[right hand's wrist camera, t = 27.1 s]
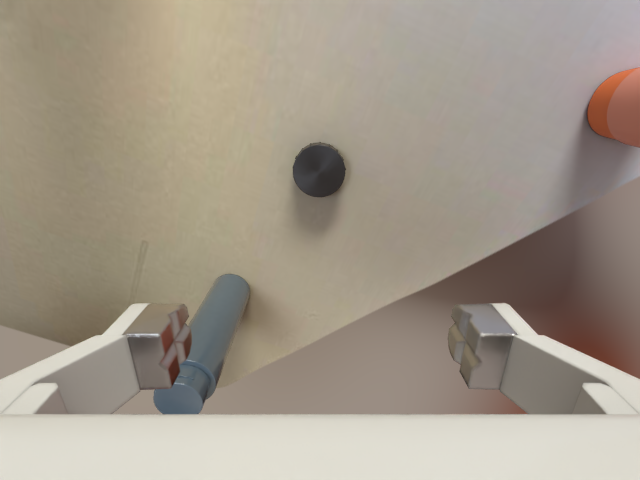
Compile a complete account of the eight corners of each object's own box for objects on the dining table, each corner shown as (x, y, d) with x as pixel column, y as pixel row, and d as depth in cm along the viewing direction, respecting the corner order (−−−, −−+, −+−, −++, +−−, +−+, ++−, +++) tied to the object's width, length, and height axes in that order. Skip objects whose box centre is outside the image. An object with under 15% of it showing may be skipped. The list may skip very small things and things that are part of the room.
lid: (313, 202, 38) (312, 207, 36) (283, 161, 36) (281, 165, 34) (353, 174, 37) (355, 178, 34) (325, 131, 35) (325, 133, 33)
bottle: (221, 267, 41) (158, 369, 25) (256, 284, 41) (217, 393, 26) (206, 297, 42) (139, 410, 26) (241, 312, 43) (195, 431, 27)
